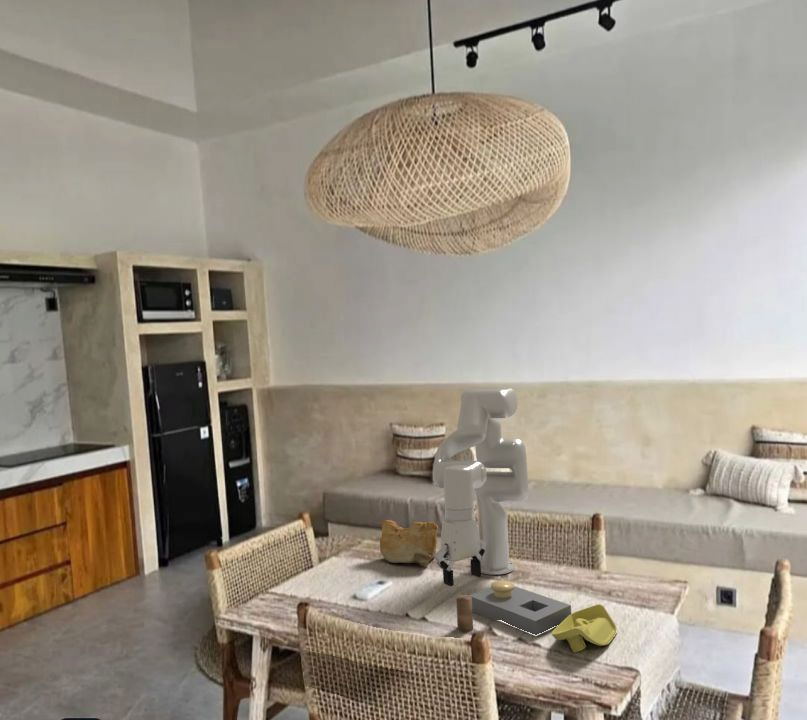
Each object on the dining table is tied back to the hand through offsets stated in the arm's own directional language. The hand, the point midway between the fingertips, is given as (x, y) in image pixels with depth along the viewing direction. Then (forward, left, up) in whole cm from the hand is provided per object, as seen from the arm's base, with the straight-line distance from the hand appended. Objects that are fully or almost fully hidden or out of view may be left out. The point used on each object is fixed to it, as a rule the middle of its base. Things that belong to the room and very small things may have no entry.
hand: (462, 580), depth 172 cm
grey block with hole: (+4, +16, -13) cm, 21 cm away
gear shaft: (0, 0, -13) cm, 13 cm away
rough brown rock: (-51, +26, -13) cm, 59 cm away
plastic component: (+25, +16, -13) cm, 32 cm away
